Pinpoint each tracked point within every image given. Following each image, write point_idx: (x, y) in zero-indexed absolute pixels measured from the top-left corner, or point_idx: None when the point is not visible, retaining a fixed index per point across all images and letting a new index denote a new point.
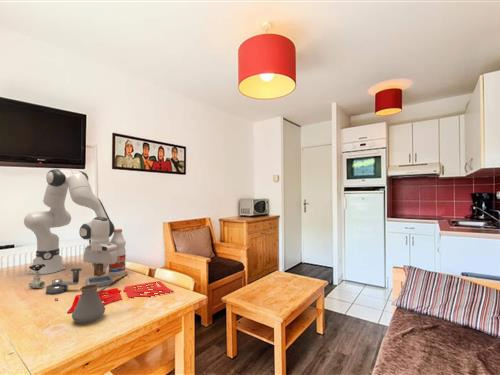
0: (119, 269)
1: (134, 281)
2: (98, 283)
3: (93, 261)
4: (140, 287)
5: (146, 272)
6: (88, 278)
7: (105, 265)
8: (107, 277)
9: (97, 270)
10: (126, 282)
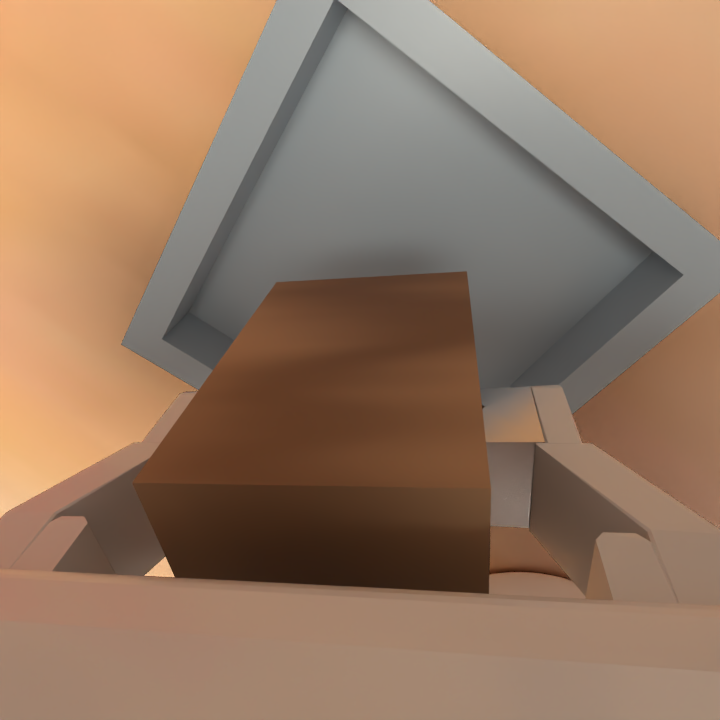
0: None
1: (67, 478)
2: (217, 137)
3: (613, 688)
4: None
5: None
6: (700, 291)
7: (6, 530)
8: None
9: (323, 349)
10: (110, 432)
